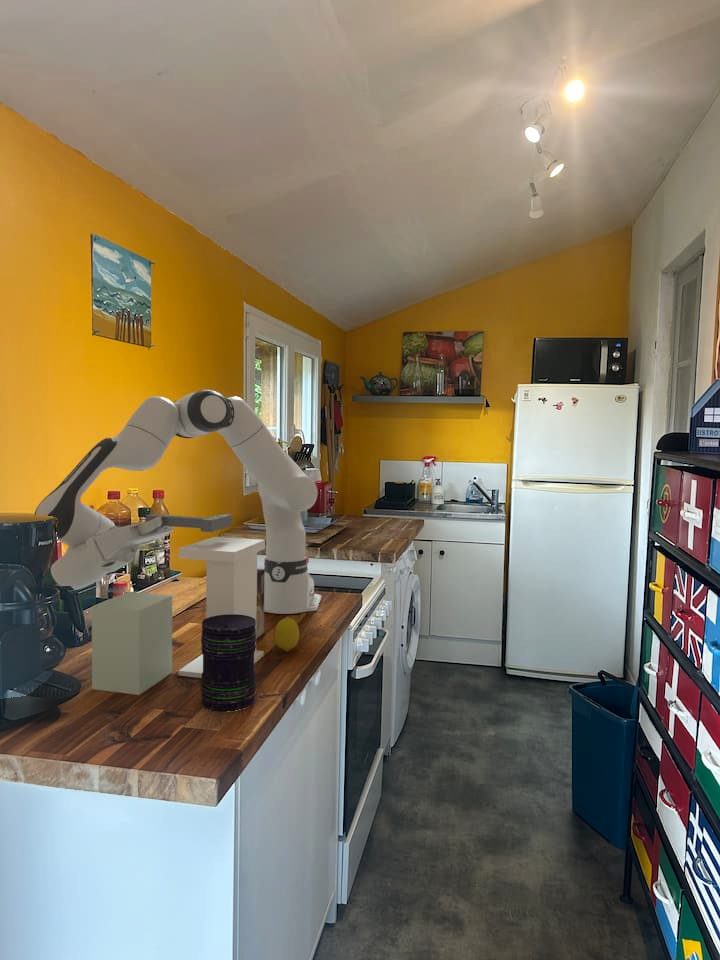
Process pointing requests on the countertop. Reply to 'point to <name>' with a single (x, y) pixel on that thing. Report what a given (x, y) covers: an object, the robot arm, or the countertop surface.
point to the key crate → (131, 642)
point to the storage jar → (228, 662)
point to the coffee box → (260, 603)
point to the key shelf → (226, 582)
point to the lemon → (287, 634)
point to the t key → (196, 522)
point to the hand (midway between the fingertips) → (166, 518)
